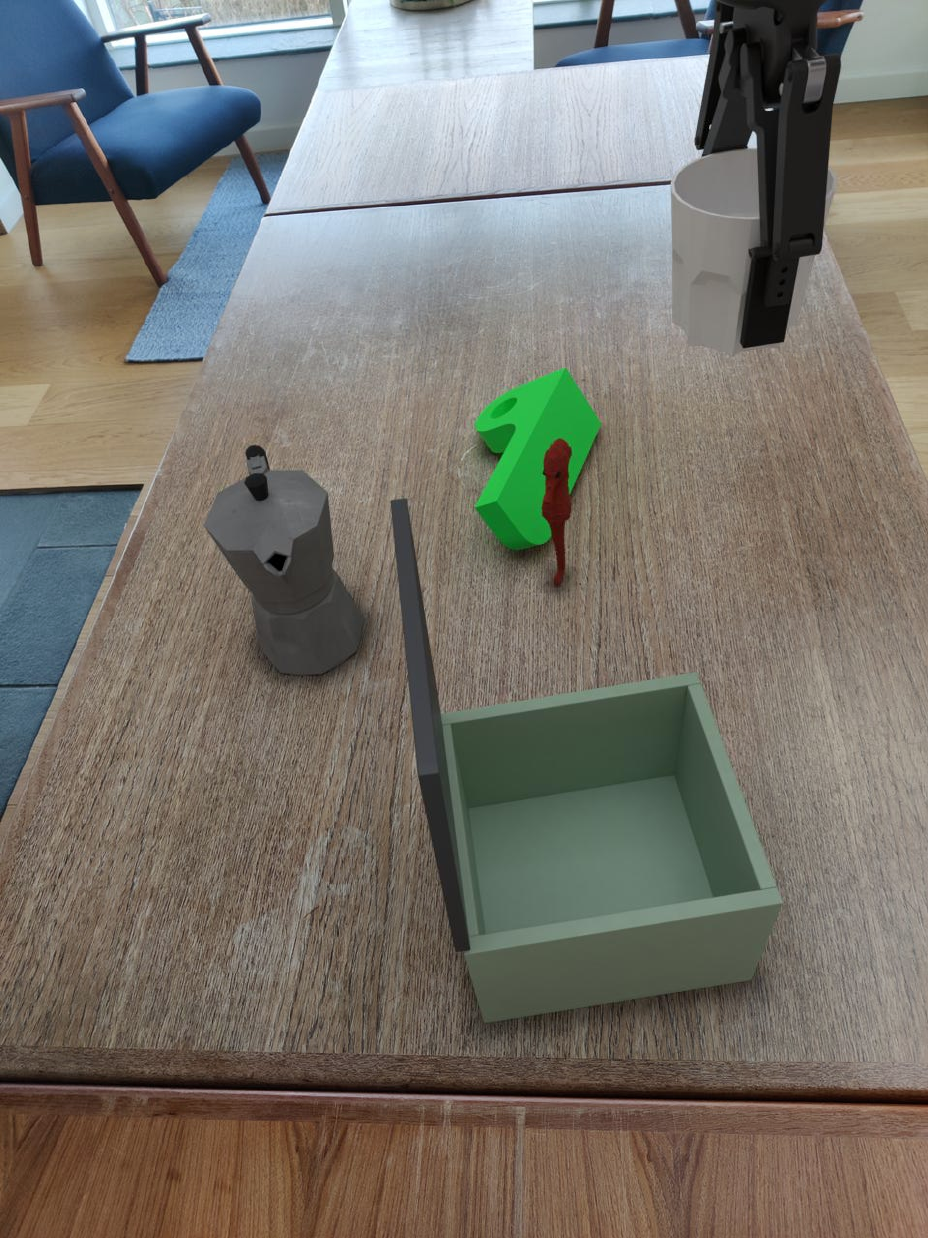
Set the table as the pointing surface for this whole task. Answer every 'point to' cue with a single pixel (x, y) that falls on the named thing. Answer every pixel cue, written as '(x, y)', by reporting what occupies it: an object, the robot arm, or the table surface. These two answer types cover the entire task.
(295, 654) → the coffeepot
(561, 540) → the toy
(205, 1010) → the table surface
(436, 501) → the table surface
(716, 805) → the green box
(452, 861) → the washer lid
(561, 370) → the bracket
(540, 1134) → the table surface
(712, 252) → the cup
